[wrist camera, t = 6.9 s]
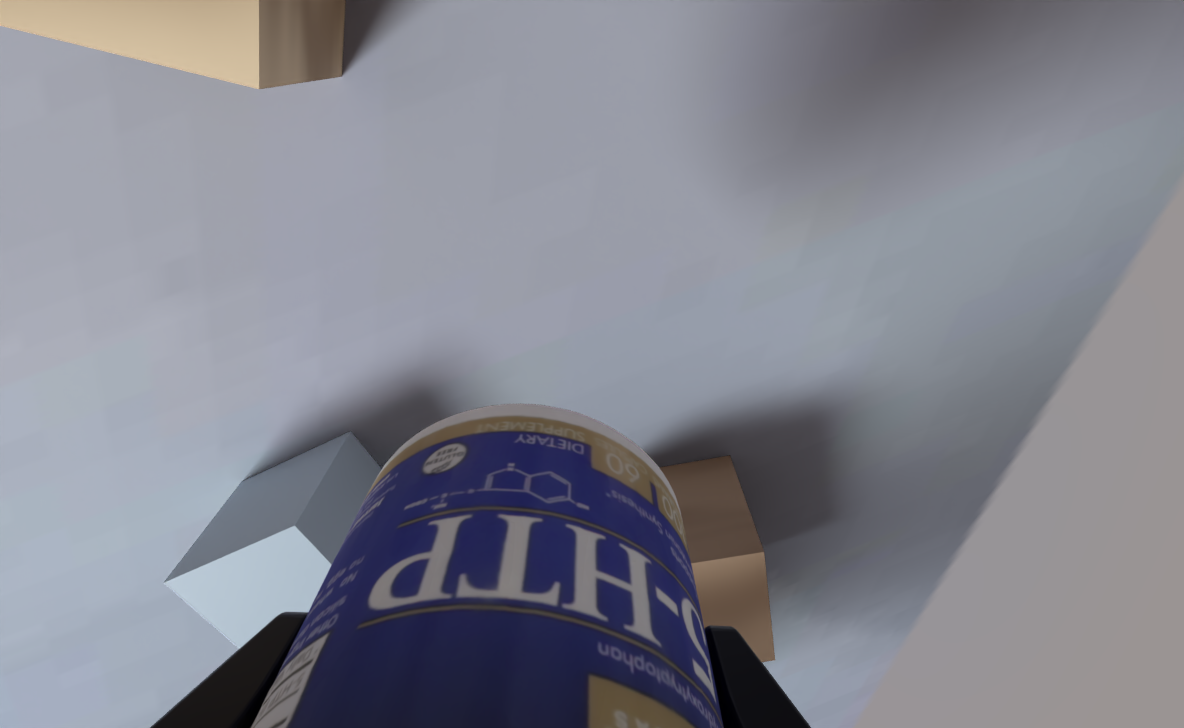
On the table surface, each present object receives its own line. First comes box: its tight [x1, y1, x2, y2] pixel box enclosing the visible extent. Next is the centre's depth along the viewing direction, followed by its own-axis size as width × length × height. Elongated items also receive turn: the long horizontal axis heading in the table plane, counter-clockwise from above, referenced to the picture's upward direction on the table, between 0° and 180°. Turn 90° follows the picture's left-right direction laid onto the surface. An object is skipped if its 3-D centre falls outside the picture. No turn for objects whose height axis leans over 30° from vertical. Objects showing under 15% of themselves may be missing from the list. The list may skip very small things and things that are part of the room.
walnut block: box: [659, 455, 775, 662], centre depth 22 cm, size 5×5×5 cm
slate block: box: [164, 431, 382, 649], centre depth 22 cm, size 5×5×5 cm
